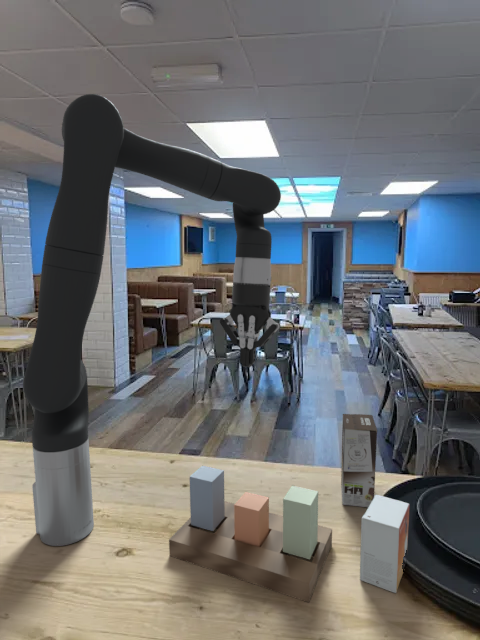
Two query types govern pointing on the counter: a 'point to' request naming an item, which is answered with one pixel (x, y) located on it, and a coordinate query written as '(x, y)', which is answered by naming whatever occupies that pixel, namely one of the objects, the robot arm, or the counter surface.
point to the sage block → (300, 521)
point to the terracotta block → (251, 519)
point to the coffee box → (358, 459)
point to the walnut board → (252, 555)
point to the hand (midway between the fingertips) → (247, 366)
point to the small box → (384, 542)
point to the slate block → (207, 497)
